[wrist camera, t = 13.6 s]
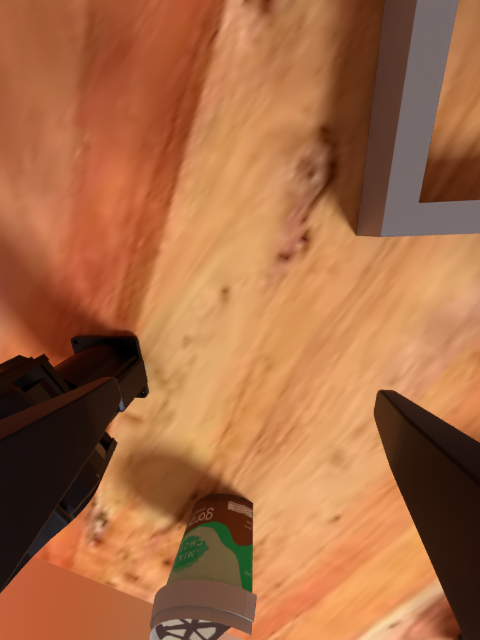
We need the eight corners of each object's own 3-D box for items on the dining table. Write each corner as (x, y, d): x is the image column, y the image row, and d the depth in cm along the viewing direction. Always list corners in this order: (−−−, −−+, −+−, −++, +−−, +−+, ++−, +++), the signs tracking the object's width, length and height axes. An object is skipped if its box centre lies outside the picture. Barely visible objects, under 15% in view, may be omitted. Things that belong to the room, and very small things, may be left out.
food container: (216, 470, 27) (188, 597, 18) (260, 497, 28) (255, 633, 18) (165, 519, 31) (121, 642, 22) (204, 541, 32) (177, 669, 23)
